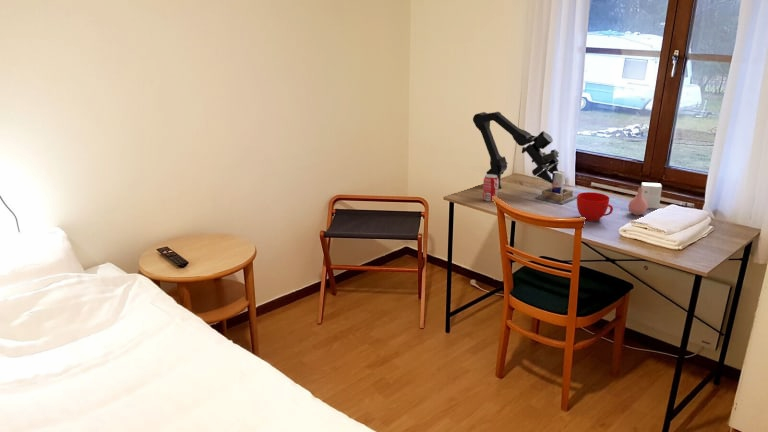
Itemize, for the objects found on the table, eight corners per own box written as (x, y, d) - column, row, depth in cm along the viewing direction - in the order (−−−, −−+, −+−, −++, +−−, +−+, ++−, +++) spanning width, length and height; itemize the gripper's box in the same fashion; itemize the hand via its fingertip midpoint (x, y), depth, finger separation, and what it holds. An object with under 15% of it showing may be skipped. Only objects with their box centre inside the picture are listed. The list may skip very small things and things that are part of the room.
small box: (657, 205, 256) (660, 183, 253) (658, 209, 251) (662, 186, 248) (638, 203, 259) (641, 181, 255) (639, 207, 254) (642, 185, 250)
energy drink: (548, 195, 269) (550, 171, 265) (557, 194, 271) (559, 170, 267) (556, 198, 265) (558, 174, 261) (564, 197, 267) (566, 172, 263)
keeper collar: (536, 198, 269) (536, 190, 267) (551, 192, 278) (552, 184, 276) (562, 204, 259) (563, 197, 258) (577, 198, 268) (578, 190, 267)
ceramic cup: (598, 228, 229) (601, 205, 226) (568, 216, 243) (570, 194, 240) (621, 223, 235) (624, 200, 232) (590, 211, 249) (592, 190, 246)
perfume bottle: (624, 214, 245) (628, 188, 241) (630, 210, 250) (634, 184, 246) (642, 218, 240) (646, 192, 236) (648, 214, 245) (652, 188, 241)
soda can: (496, 197, 271) (498, 173, 267) (498, 202, 264) (499, 177, 260) (482, 197, 271) (483, 173, 267) (483, 202, 265) (484, 177, 261)
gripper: (540, 148, 257) (561, 175, 254) (556, 141, 270) (576, 166, 268) (523, 162, 264) (543, 188, 261) (539, 154, 278) (559, 179, 275)
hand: (556, 180), depth 266 cm, fingers open, 9 cm apart
